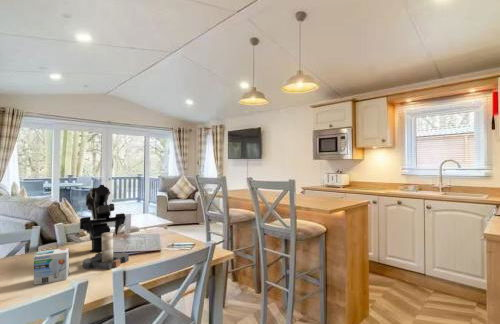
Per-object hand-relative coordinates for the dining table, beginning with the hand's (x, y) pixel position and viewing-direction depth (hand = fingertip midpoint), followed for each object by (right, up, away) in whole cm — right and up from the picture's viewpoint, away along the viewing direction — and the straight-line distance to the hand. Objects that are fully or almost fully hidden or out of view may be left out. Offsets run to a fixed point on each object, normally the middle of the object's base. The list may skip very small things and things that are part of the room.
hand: (105, 236), depth 128 cm
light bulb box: (-11, -12, -18) cm, 25 cm away
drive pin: (+3, -12, -4) cm, 13 cm away
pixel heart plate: (+1, -11, -1) cm, 12 cm away
